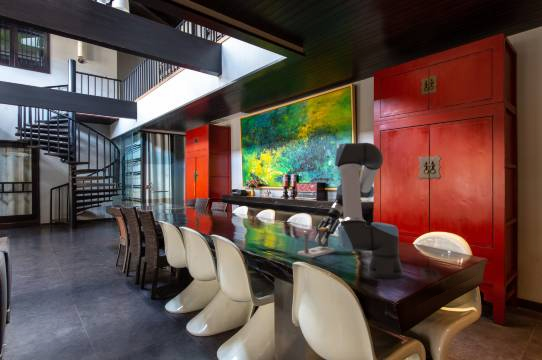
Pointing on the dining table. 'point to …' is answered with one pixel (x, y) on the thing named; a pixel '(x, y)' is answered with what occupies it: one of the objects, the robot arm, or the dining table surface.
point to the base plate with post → (314, 249)
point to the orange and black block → (321, 234)
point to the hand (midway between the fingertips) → (319, 241)
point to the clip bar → (301, 230)
